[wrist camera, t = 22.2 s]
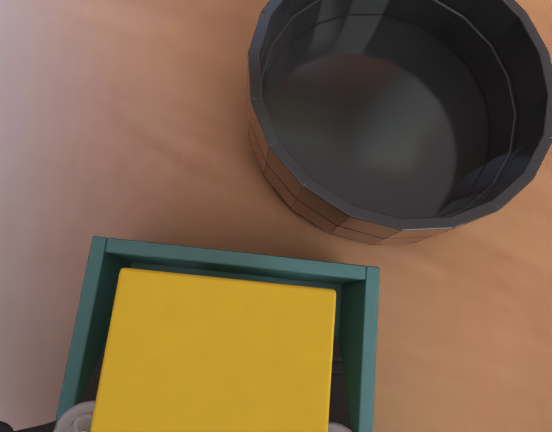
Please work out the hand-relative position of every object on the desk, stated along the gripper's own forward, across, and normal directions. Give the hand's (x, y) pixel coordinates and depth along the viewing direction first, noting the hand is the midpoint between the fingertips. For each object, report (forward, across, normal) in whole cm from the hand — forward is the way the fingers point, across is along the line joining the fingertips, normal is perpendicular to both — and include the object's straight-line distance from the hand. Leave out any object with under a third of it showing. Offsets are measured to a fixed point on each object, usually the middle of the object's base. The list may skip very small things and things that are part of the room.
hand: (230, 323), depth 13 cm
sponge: (+1, 0, +4) cm, 5 cm away
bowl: (+10, -6, -4) cm, 12 cm away
